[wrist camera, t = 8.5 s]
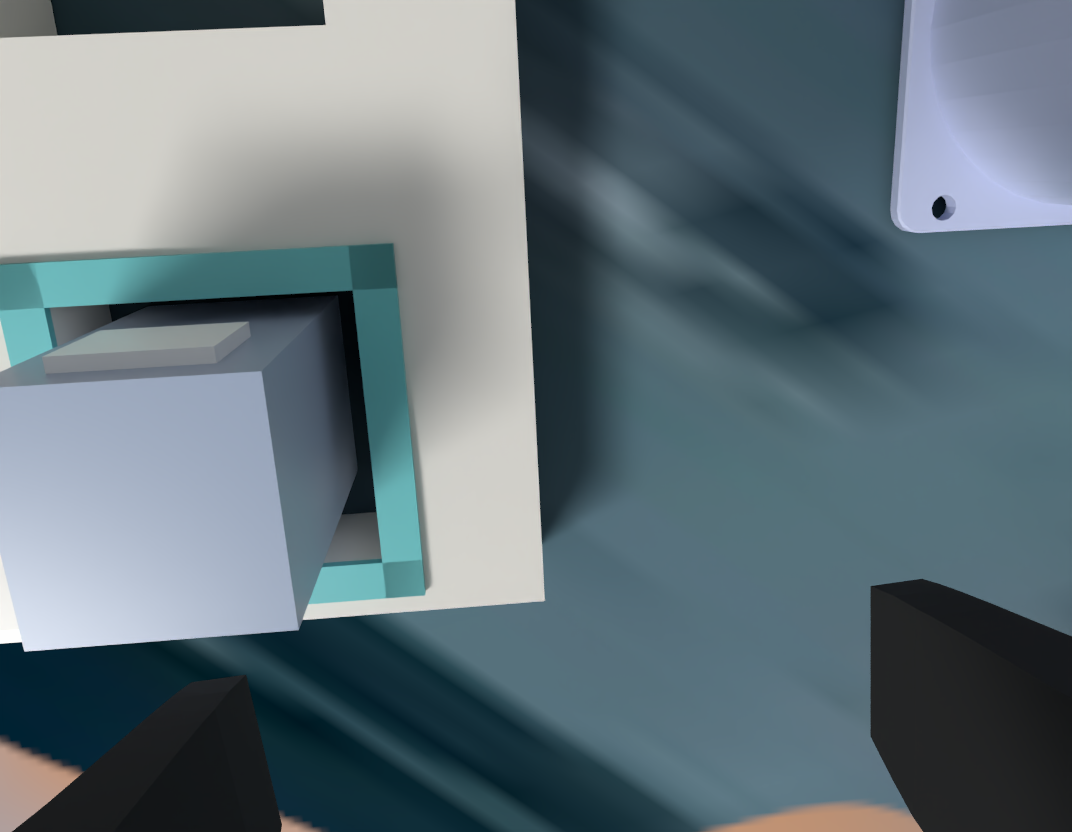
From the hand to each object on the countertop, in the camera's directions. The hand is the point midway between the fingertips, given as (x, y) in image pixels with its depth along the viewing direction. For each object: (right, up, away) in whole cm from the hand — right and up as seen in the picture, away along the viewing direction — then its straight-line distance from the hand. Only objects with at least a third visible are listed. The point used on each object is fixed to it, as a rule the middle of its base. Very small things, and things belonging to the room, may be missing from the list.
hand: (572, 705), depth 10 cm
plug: (-7, +4, +9) cm, 12 cm away
